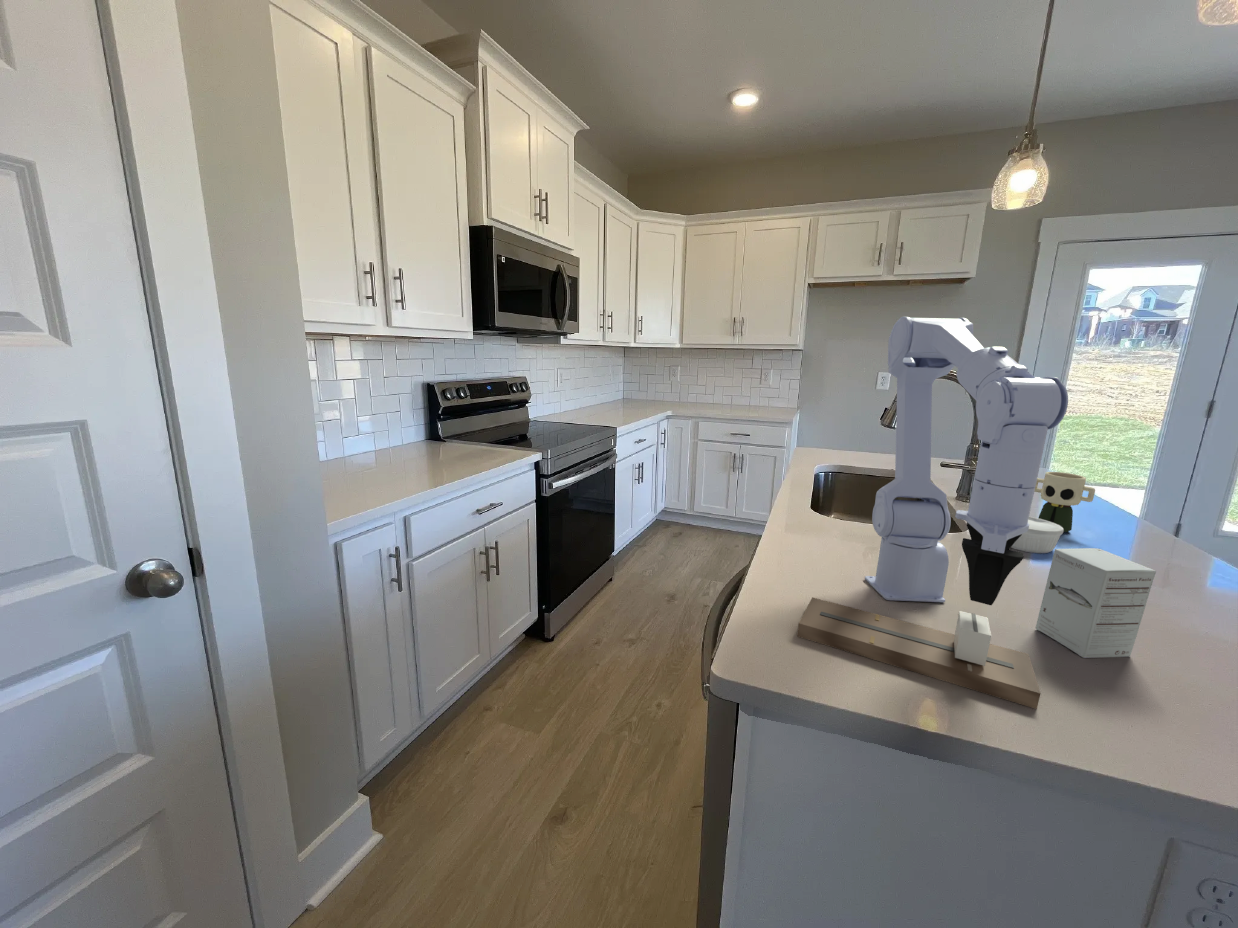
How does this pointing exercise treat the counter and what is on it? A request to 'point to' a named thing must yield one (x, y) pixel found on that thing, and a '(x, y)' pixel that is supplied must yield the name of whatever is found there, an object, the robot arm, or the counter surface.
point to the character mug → (1062, 497)
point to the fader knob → (972, 638)
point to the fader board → (919, 651)
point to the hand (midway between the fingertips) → (982, 590)
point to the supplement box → (1094, 602)
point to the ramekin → (1039, 536)
